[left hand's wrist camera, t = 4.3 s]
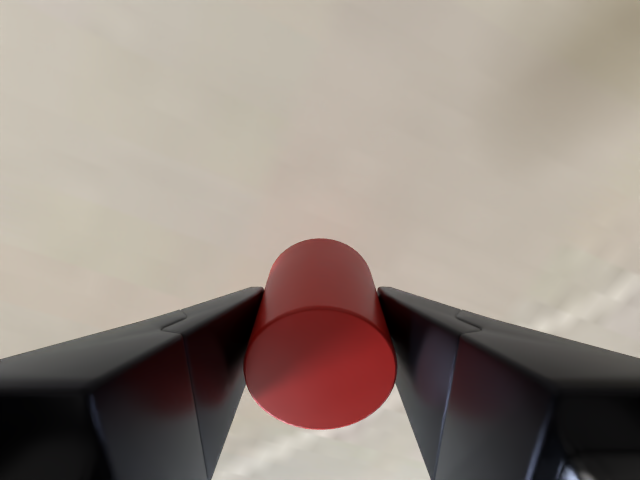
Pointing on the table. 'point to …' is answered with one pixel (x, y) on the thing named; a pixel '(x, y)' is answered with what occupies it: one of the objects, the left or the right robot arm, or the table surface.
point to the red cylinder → (320, 339)
